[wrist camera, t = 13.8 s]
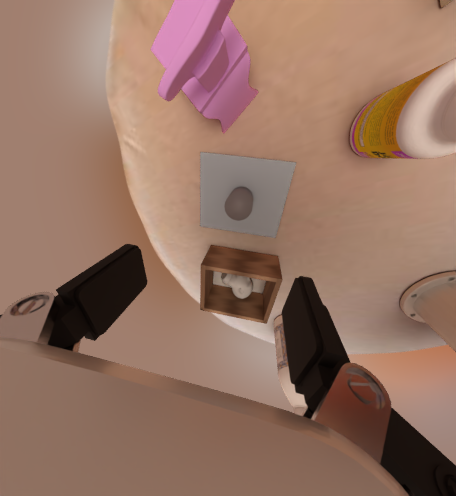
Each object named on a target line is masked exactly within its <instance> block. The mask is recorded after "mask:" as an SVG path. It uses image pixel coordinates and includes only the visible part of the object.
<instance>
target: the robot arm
mask: <svg viewBox="0 0 456 496" xmlns="http://www.w3.org/2000/svg"><path fill="white" fill-rule="evenodd" d="M146 285H147V278H146V273H145V268H144V264H143V259H142V254H141V250H140V249H139V247H138V246H136V245H131V244H126V245H124V246H122V247H121V248H119V249H118V250H116V251H115V252H113V253H112V254H110V255H108V256H107V257H105V258H104V259H103V260H101V261H99V262H98V263H96V264H95V265H93V266H92V267H90V268H88V269H87V270H85V271H84V272H82V273H81V274H79V275H78V276H76V277H75V278H73V279H72V280H70V281H69V282H67V283H65V284H64V285H62V286H61V287H59V288H58V289H56V291H57V292H58V295H57V296H56V297H55V296H54V295H53V293H50V292H40V293H35V294H32V295H28V296H26V297H24V298H21V299H20V300H18V301H16V302H14V303H13V304H12V305H10V306H9V307H8V308H7V309H6V311H5V312H4V314H2V315H0V496H456V465H454V464H453V463H452V462H451V461H450V460H449V459H448V458H447V457H445V456H444V455H443V454H442V453H441V452H440V451H439V450H438V449H437V448H436V447H434V446H433V445H432V444H431V443H430V442H429V441H428V440H427V439H426V438H425V437H423V436H422V435H421V434H420V433H419V432H418V431H417V430H416V429H415V428H414V427H412V426H411V425H410V424H409V423H408V422H407V421H406V420H405V419H403V417H401V416H400V415H399V414H398V413H397V412H396V411H395V410H394V409H393V408H391V401H390V398H389V395H388V393H387V391H386V390H385V388H384V386H383V385H382V384H381V382H380V381H379V380H378V379H377V378H376V377H375V376H374V375H373V374H372V373H371V372H370V371H368V370H367V369H365V368H364V367H362V366H360V365H357V364H355V363H350V360H349V358H348V356H347V353H346V351H345V349H344V346H343V344H342V342H341V339H340V337H339V335H338V333H337V330H336V328H335V326H334V323H333V321H332V319H331V316H330V314H329V312H328V309H327V308H326V306H324V305H323V304H322V301H321V299H320V297H319V294H318V292H317V289H316V287H315V285H314V282H313V280H312V278H309V277H303V276H300V277H299V278H295V280H294V283H293V285H292V288H291V290H290V293H289V295H288V297H287V300H286V302H285V305H284V307H283V310H282V320H283V328H284V336H285V344H286V351H287V359H288V367H289V374H290V381H291V383H292V384H294V385H295V392H296V393H298V394H302V395H304V399H305V403H306V405H307V406H306V408H305V410H304V412H303V413H302V415H301V416H300V415H298V414H295V413H292V412H289V411H286V410H283V409H279V408H276V407H273V406H269V405H266V404H263V403H259V402H256V401H252V400H249V399H246V398H242V397H239V396H235V395H232V394H228V393H224V392H220V391H217V390H213V389H210V388H206V387H202V386H199V385H195V384H192V383H188V382H185V381H181V380H177V379H174V378H170V377H166V376H162V375H159V374H155V373H152V372H148V371H144V370H141V369H137V368H133V367H130V366H126V365H122V364H119V363H115V362H111V361H107V360H103V359H100V358H96V357H92V356H88V355H84V354H81V353H78V351H79V346H80V340H81V339H82V338H83V336H85V338H87V339H91V340H94V341H95V340H96V339H97V338H98V337H99V336H100V335H102V334H104V333H105V332H106V330H108V328H109V327H110V326H111V325H112V324H113V323H114V322H115V320H116V319H117V318H118V317H119V316H120V315H121V314H122V313H123V312H124V310H125V309H126V308H127V307H128V306H129V305H130V304H131V302H132V301H133V300H134V299H135V298H136V297H137V296H138V294H139V293H140V292H141V291H142V290H143V289H144V288H145V287H146ZM400 307H401V309H402V311H403V312H404V313H405V314H406V315H407V316H408V317H409V318H411V319H413V320H415V321H418V322H423V323H427V324H428V325H429V326H430V327H431V328H432V329H433V330H434V331H435V332H436V333H437V334H438V335H439V336H440V337H441V338H442V339H443V340H444V341H445V342H446V343H447V344H448V345H449V346H450V347H451V348H452V349H453V350H454V351H455V352H456V271H454V272H446V273H441V274H437V275H434V276H430V277H428V278H425V279H423V280H421V281H419V282H417V283H416V284H414V285H413V286H411V287H410V288H409V289H408V290H407V291H406V292H405V293H404V295H403V296H402V298H401V301H400Z"/></svg>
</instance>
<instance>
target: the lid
mask: <svg viewBox="0 0 456 496" xmlns="http://www.w3.org/2000/svg"><path fill="white" fill-rule="evenodd" d="M295 165H296V162H288V161H279V160H270V159H261V158H252V157H243V156H233V155H224V154H215V153H206V152H200V226H201V227H207V228H214V229H220V230H227V231H233V232H240V233H246V234H253V235H259V236H266V237H272V238H276V235H277V231H278V227H279V224H280V220H281V216H282V213H283V209H284V205H285V202H286V198H287V194H288V191H289V187H290V184H291V180H292V176H293V173H294V169H295Z"/></svg>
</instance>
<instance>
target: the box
mask: <svg viewBox="0 0 456 496" xmlns="http://www.w3.org/2000/svg"><path fill="white" fill-rule="evenodd" d="M213 271H217V272H222V273H228V274H233V275H239V276H244V277H250V278H255V279H261V280H266V284H265V288H264V291H263V294H260V293H255V292H251V294H250V295H249V296H248V297H246V298H243V299H241V298H238V297H236V296H235V295H234V293H233V291H232V288H229V287H224V286H218V285H213ZM281 282H282V275H281V270H280V264H279V259H278V256H273V255H267V254H261V253H256V252H250V251H244V250H238V249H232V248H226V247H220V246H214V245H211V247H210V249H209V250H208V252H207V254H206V256H205V258H204V260H203V262H202V264H201V298H200V309H201V310H203V311H208V312H213V313H218V314H223V315H227V316H232V317H237V318H242V319H246V320H251V321H256V322H261V323H266V324H267V321H268V318H269V316H270V313H271V310H272V307H273V304H274V302H275V299H276V296H277V293H278V290H279V288H280V285H281Z"/></svg>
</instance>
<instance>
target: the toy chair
mask: <svg viewBox="0 0 456 496" xmlns="http://www.w3.org/2000/svg"><path fill="white" fill-rule="evenodd" d="M234 1H235V0H175V1H174V3H173V5H172V7H171V9H170V11H169V13H168V15H167V18H166V20H165V21H164V23H163V25H162V27H161V29H160V31H159V33H158V34H157V37H156V39H155V41H154V43H153V45H152V47H151V51H152V52H153V53H154V55H155V56H156V57H157V58H158V60H159V61H160V62H161V63H162V65H163V66H164V67H165V69H166V71H165V73H164V75H163V77H162V79H161V81H160V84H159V87H158V94H159V95H160V96H161V97H162V98H163V99H165V100H167V101H171V100H172V99H173V98H174V97H175V96H176V95H177V93H178V92H179V91H180V89H182V90H183V92H184V93H185V94H186V95H187V97H188V98H189V99H190V101H191V102H192V103H193V104H194V106H195V107H196V108H197V110H198V111H199V112H200V113H201V114H203V116H204V117H206V118H209V119H218V120H220V122H221V126H222V132H223V134H224V133H225V132H226V131H227V129H228V128H229V127H230V126H231V125H232V124H233V122H234V121H235V120H236V119H237V118H238V116H239V115H240V114H241V113H242V112H243V111H244V109H245V108H246V107H247V106H248V105H249V103H250V102H251V101H252V100H253V99H254V98H255V96H256V95H257V94H258V91H257V90H256V89H253V88H251V87H250V86H249V83H248V77H249V69H250V56H249V53H248V51H247V45H246V43H245V42H244V40H243V38H242V37H241V35H240V34H239V32H238V30H237V29H236V27H235V26H234V24H233V23H232V21H231V19H230V18H229V16H228V13H229V11H230V9H231V7H232V5H233V3H234Z"/></svg>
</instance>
